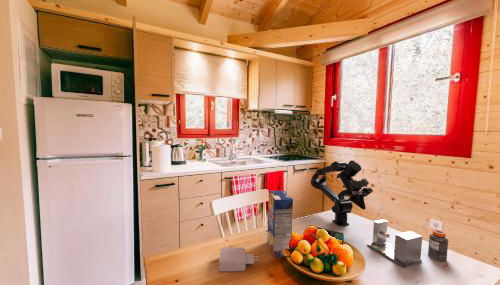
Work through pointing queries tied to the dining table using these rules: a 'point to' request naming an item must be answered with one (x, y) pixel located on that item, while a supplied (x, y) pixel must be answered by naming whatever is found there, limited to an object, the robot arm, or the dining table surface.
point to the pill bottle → (438, 245)
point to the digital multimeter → (335, 234)
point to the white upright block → (380, 232)
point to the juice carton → (279, 222)
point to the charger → (235, 259)
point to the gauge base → (401, 249)
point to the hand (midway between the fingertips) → (364, 209)
